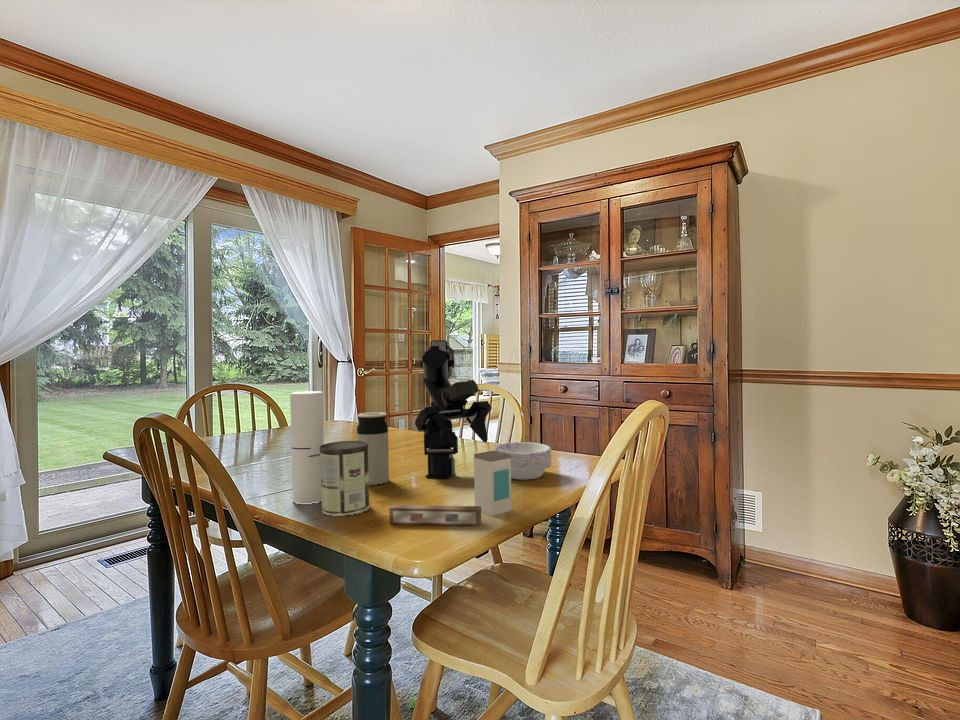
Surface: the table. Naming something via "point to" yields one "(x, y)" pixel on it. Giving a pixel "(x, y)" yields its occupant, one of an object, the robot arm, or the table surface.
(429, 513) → the brown wooden bar
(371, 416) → the travel mug
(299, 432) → the cylindrical container
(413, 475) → the table surface
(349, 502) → the coffee can
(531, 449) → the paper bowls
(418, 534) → the table surface
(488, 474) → the carton
